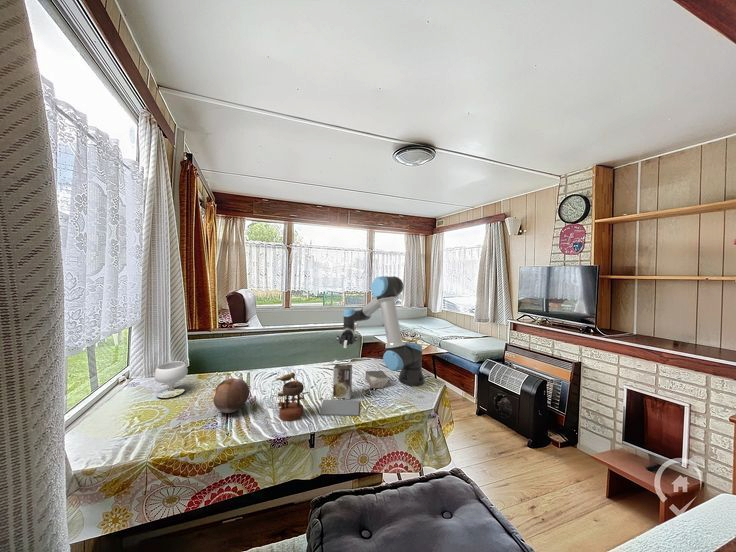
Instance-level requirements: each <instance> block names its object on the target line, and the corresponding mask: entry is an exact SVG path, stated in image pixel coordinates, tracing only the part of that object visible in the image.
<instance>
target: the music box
mask: <svg viewBox="0 0 736 552" xmlns="http://www.w3.org/2000/svg"><path fill="white" fill-rule="evenodd" d="M292 379H293V380H292ZM275 380H276V382H277V381H280V384H282V382H284V383H283V386H282V389H280V391H279V392H280V393H277V397H279V402H278V407H279V410H278V411H279V412H278V413H279V415H278V416H279V419H280V420H281V421H284V422H294V421H298V420H299V419H301V418H302V417H303V416H304V405H303V404H301V403H300V401H301V400H302V399H303V400H305V396H304V395H305V394H310V392H309V391H306V392H304V389H305V387H304V386H305V385H304V384H303V382H301V381H297V380H296V374H295V372H290V374H289V373H288V374H287V373H286V374H285V375H282V376H281V377H277V378H276V379H275ZM290 380H292V381H290ZM300 394H302V397H301V396H300ZM295 396H296V397H297V398H296V397H295ZM282 397H286V398H284V402H282ZM289 397H291V399H290V398H289ZM296 400H297V401H296ZM290 401H291V402H290Z"/></svg>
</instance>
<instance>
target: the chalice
mask: <svg viewBox="0 0 736 552" xmlns="http://www.w3.org/2000/svg"><path fill="white" fill-rule="evenodd" d="M188 372H189V370H188V366H187V364H186V363H185V362H184V361H177V360H176V361H169V362H168V361H167V362H165V363H161V364H159V365H158V366H157V367H156V369H155V371H154V374H153V375H154V376H153V377H154V380H155V381H156V382H157V383H159V384H163V385H167V386H168V389H169V390H168V391H174V390H175V389H174V388H175V387H174V386H175V385H176V383H179V382H180V381H182V380H184V379H185V378H186V377H187V374H188Z"/></svg>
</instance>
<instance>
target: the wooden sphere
mask: <svg viewBox="0 0 736 552" xmlns="http://www.w3.org/2000/svg"><path fill="white" fill-rule="evenodd" d="M249 396H250V389H249V386H248V383H247V382H246V381H245V380H243V379H242V378H240V377H229V378H226V379H224V380H222V381H221V382H220V383H218V384H217V386H216V388H215V389H214V391H213V395H212V401H213V405H214V407H215V408H216V409H217V410H218V411H219V412H221V413H225V414H230V413H235V412H237V411H239V410H241V409H242V408H243V407H244V406H245V405H246V404H247V402H248V400H249Z"/></svg>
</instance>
